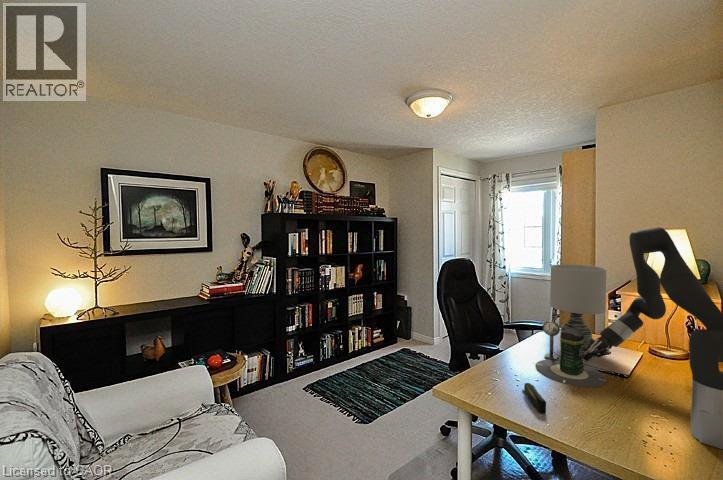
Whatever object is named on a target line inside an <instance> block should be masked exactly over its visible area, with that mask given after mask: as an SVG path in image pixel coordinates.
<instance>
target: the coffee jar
mask: <svg viewBox="0 0 723 480" xmlns="http://www.w3.org/2000/svg"><path fill="white" fill-rule="evenodd" d="M560 333H561V334H560V336H559V337H560V340H561V344H560V358H559V360H560V370H561V371H562V372H564V373H566V374H569V375H575V376H577V375H580V374H581V373H582V372H583V371H584V365H585V364H584V359H583V355H584V352H583V345H584V333H583V332H582V331H581V330H577V329H572V328H571V329H567V330H564V331H562V332H561V331H560Z"/></svg>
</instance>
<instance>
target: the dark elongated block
mask: <svg viewBox="0 0 723 480" xmlns="http://www.w3.org/2000/svg"><path fill="white" fill-rule="evenodd" d="M523 387H524V388H523V389H521V390H522V391H521V392H522V393H523V394H524V395H525V396H526V398H527V400H528V401H529V403H530V404H531V405H532V406H533V408H534V409H535V410H536V412H538V413H540V414H546V413H547V402H546V400H545V399H544V398H543V396H541V394H540V393H539V392H538V390H537V389H536V387H535V386H534V385H533V384H531V383H529V382H526V383H524V386H523Z"/></svg>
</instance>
